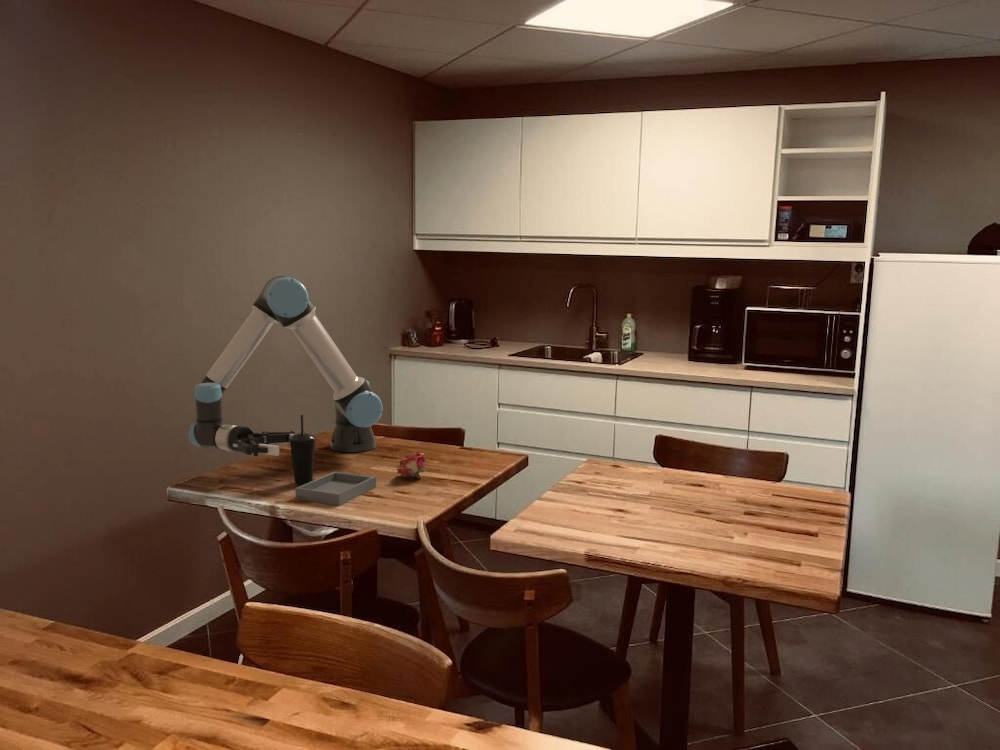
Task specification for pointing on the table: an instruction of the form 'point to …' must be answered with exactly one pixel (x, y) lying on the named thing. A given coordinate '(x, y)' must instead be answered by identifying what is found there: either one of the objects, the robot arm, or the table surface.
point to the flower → (412, 465)
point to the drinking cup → (302, 455)
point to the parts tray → (335, 488)
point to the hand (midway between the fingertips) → (294, 445)
